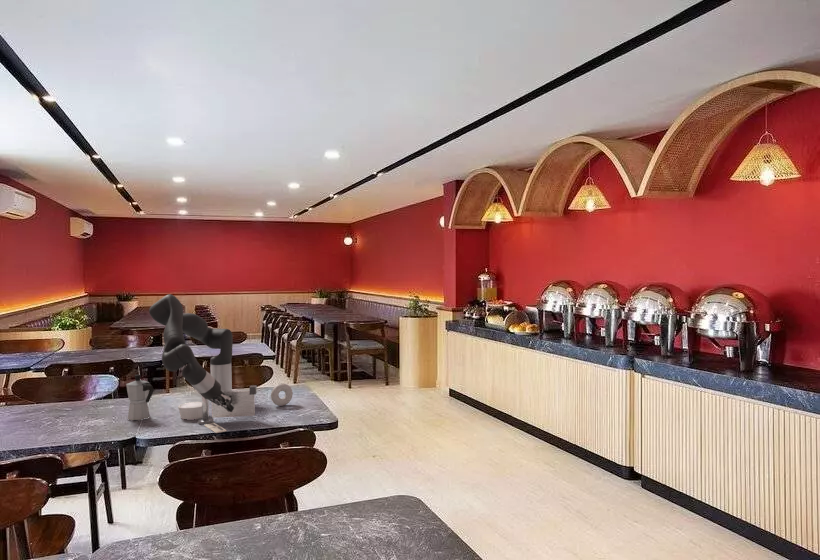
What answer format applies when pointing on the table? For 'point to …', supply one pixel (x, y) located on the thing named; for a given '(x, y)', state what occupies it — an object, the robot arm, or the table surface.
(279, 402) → the donut
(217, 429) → the label
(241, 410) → the white upright panel
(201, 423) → the pivot base
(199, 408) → the ramekin
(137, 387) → the coffee maker
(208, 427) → the label
